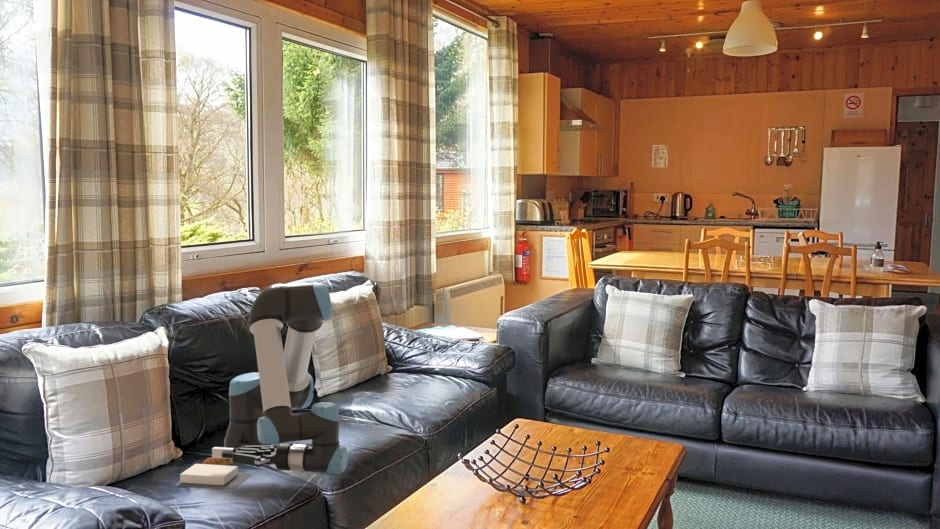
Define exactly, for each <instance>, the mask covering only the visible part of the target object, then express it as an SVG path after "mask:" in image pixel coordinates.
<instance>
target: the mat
mask: <svg viewBox="0 0 940 529" xmlns="http://www.w3.org/2000/svg"><path fill="white" fill-rule="evenodd" d="M251 476H253V474H251V473H240V472H239V473H238V474H237V475H236V476H235V477H234V478H232V479H231V480H230V481H229V482H227V483H226V484H225V485H222V486H218V485H202V484H187V483H181V482H180V480H179V481H178V482H176V483H174V486H176V487H177V486H178V487H179V486H180V487H194V488H195V487H196V488H209V489H225V490H237V488H238V487H240V486H241V485H242V484H243V483H244V482H245V481H247V480H248V479H249V478H250V477H251Z"/></svg>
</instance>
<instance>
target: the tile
mask: <svg viewBox="0 0 940 529" xmlns="http://www.w3.org/2000/svg"><path fill="white" fill-rule="evenodd" d="M238 467H239V466H238V465H210V464H202V463H194V464H193V465H191V466H190V467H189V468H187V469H186V470H184V471H183V472H181V473H180V474H179V478H180V479H179V481H180V482H181V483H187V484H202V485H218V486H222V485H225V484H226V483H227V482H229V481H230V480H231V479H232V478H234V477H235V476H236V475H237V474H238V472H239V468H238Z"/></svg>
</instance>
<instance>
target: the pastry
mask: <svg viewBox="0 0 940 529" xmlns="http://www.w3.org/2000/svg"><path fill="white" fill-rule="evenodd" d="M201 464H210V465H226V466H231V465H234V464H235V462H232V459H225V458H212V456H211V457H208V458H207V459H205V460H203V461H202V462H201Z"/></svg>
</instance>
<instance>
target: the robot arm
mask: <svg viewBox="0 0 940 529" xmlns="http://www.w3.org/2000/svg"><path fill="white" fill-rule="evenodd" d="M331 301H332V300H331V295H330V290H329V289H328V286H327V285H326V284H325V283H321V282H305V283H304V282H303V283H300V282H299V283H274V284H271V285H269V286H267V287H265V288H264V289H263V290H262V291H260V293H258V295H257V296H256V298H255V299H254V301H253V303H252V305H251V308H250V310H249V314H248V315H249V317H248V327H249V331H250V333H251V334H253V337H254V338H253V339H254V346H255V353H256V363H257V370H258V371H257V372H255V371H254V372H248V373H243V374H240V375H237V376H235V377H234V378H232V379H231V380H230V381H229V386H228V387H229V388H228V398H229V424H228V427H227V430H226V433H225V437H224V439H223V444H224V445H223V446H214V447H212V448H211V457H212V458H225V459H232V462H235V463H236V464H242V465H247V466H248V465H249V466H254V467H257V468H261V467H262V464H264V465H266V466H267V465H269V466H270V465H272V464H273V465H274V466H275V468H276V469H277V470H278V471H289V472H290V471H293V472H300V473H301V474H304V472H308V473H309V472H311V473H321V474H322V473H323V474H341V473H343V472H344V471H345V470H346V469H347V465H348V459H349V458H348V457H349V453H348V449H347V446H344V445H340V440H339V438H340V435H339V434H340V413H339V406H338V405H337V403H334V402H330V401H323V402H322V401H321V402H316V403H313V405H311V403H312V402H313V398H314V391H315V387H314V386H315V385H314V379H313V376H312V375H311V374H310V373H309V371H308V369H309V364H310V360H311V356H312V351H313V346H314V341H315V338H316V332H318V330H320V328H322V326H323V323H324V321H325V322H327V321H330V320H331V318H332V302H331ZM284 323H285V324H286V325H287V327H288V328H287V333H286V338H285V343H284V344H283V339H282V332H281V330H282V329H283V328H284ZM283 345H284V347H283ZM310 405H311V410H310V411H308V412H299V413H293V412H292V411H294V410H296V411H297V410H300V409H306V408H308V407H309V406H310ZM309 440H311V443H310V444H309V443H292V442H299V441H300V442H302V441H309ZM269 444H271V445H269ZM235 463H234V464H235Z"/></svg>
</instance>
